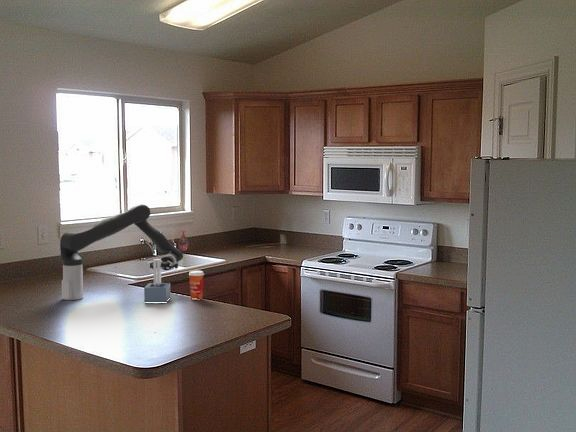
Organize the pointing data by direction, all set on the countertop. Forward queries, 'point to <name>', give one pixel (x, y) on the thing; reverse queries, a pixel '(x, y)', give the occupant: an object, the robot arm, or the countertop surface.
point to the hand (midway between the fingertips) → (161, 267)
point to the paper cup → (196, 284)
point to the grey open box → (157, 293)
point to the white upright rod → (157, 272)
